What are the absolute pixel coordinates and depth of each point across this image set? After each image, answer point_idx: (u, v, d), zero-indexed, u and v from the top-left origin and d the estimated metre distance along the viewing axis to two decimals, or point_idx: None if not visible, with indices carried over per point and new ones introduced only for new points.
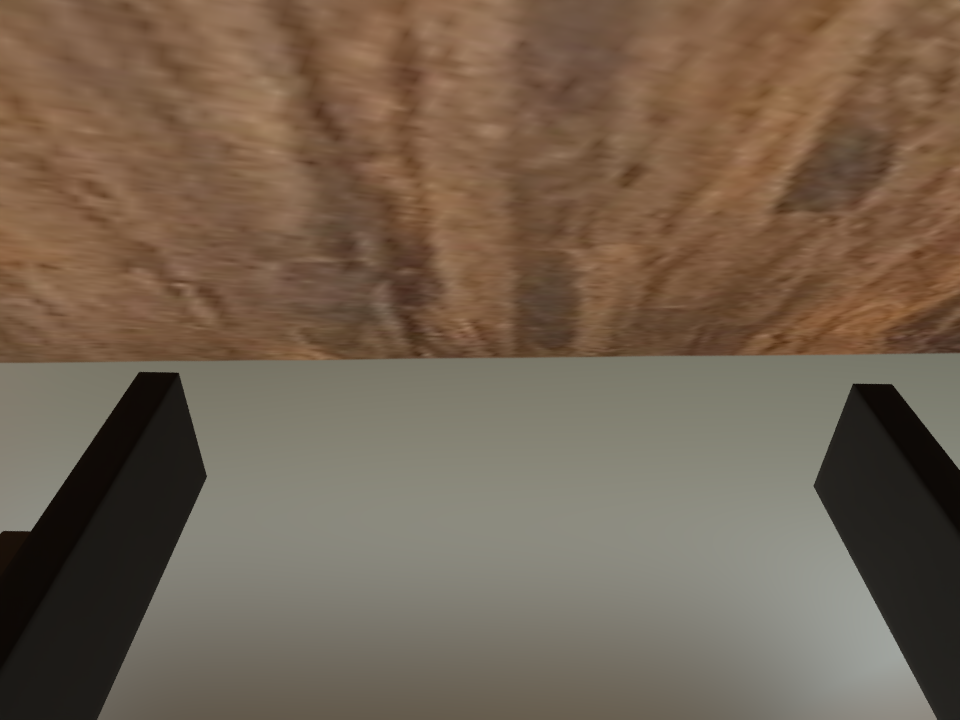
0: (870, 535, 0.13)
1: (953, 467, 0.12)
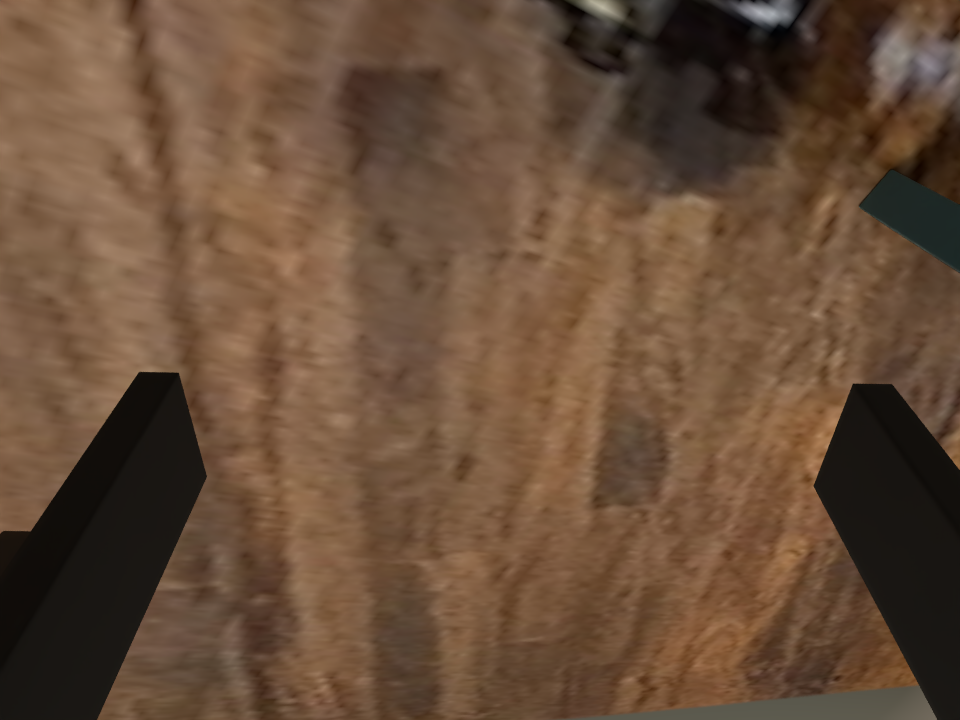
0: (870, 535, 0.13)
1: (954, 467, 0.12)
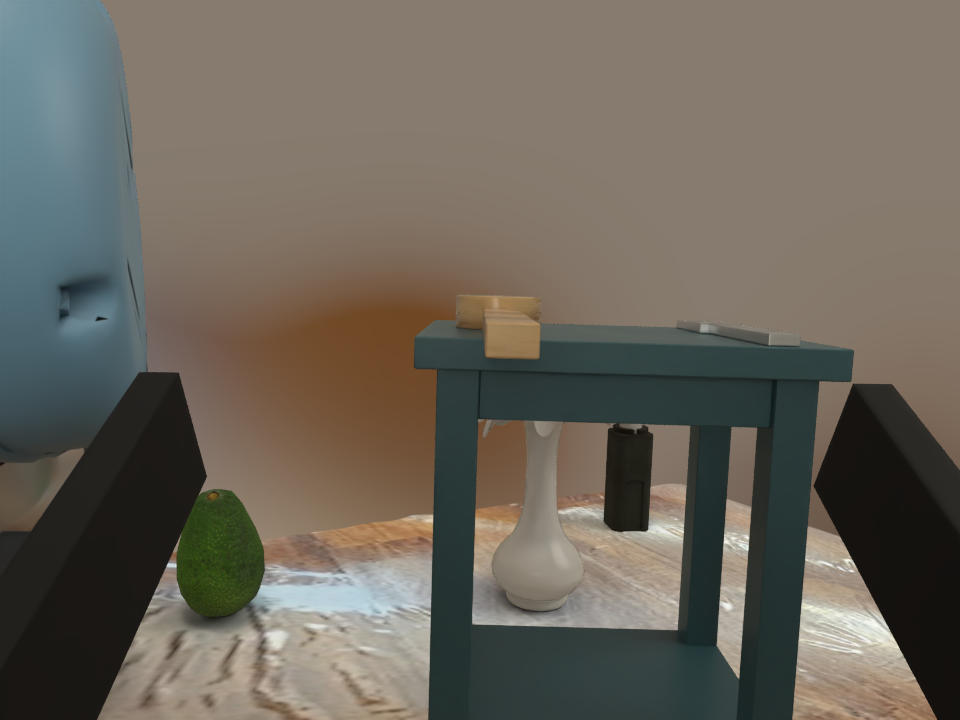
0: (870, 535, 0.13)
1: (954, 467, 0.12)
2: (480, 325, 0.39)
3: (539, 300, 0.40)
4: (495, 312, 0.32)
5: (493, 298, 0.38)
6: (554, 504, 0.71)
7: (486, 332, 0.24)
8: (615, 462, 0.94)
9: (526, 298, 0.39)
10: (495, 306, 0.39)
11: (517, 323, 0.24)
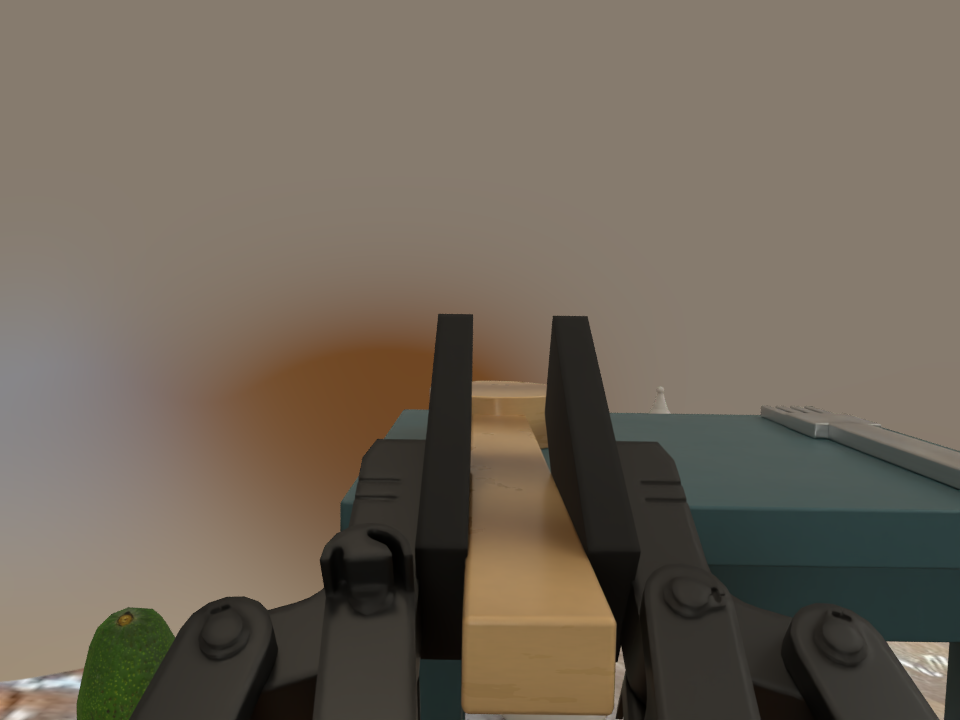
0: (554, 445, 0.15)
1: (601, 379, 0.14)
2: None
3: None
4: (491, 458, 0.17)
5: (488, 399, 0.23)
6: None
7: (464, 644, 0.08)
8: None
9: (542, 397, 0.24)
10: (492, 412, 0.23)
11: (551, 617, 0.08)
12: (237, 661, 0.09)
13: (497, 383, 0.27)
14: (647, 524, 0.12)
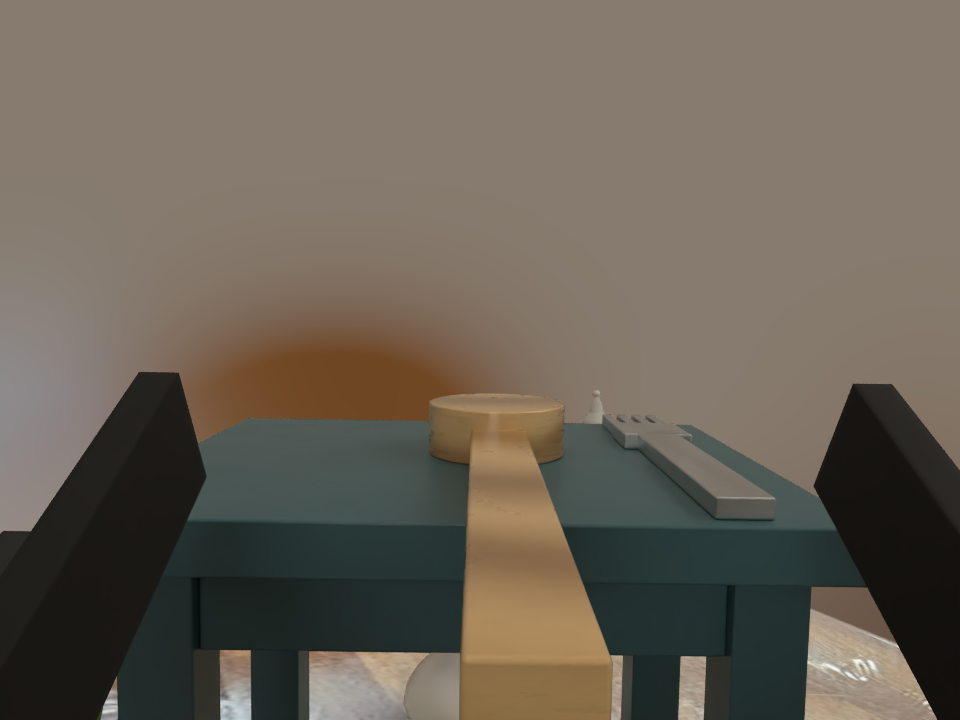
0: (870, 535, 0.13)
1: (953, 467, 0.12)
2: (467, 458, 0.24)
3: (562, 410, 0.25)
4: (490, 479, 0.17)
5: (487, 414, 0.23)
6: None
7: (462, 682, 0.08)
8: None
9: (542, 411, 0.24)
10: (491, 427, 0.23)
11: (548, 656, 0.08)
12: None
13: (497, 396, 0.27)
14: None
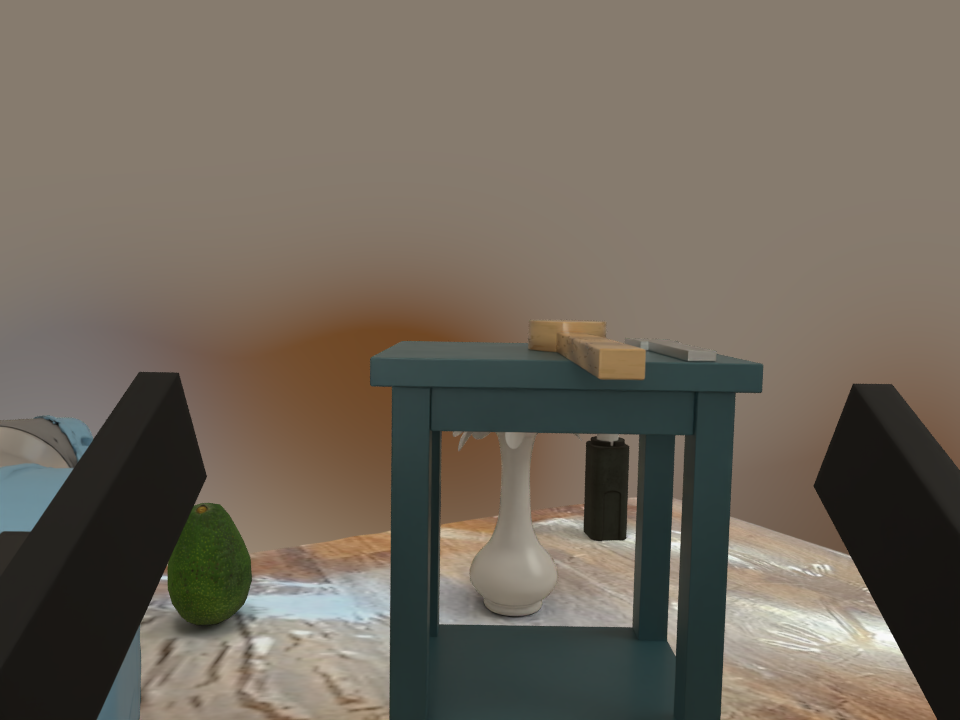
0: (870, 535, 0.13)
1: (953, 467, 0.12)
2: (554, 348, 0.43)
3: (605, 324, 0.44)
4: (581, 337, 0.36)
5: (566, 323, 0.42)
6: (528, 513, 0.74)
7: (599, 357, 0.28)
8: (593, 474, 0.97)
9: (595, 323, 0.43)
10: (568, 330, 0.42)
11: (626, 349, 0.28)
12: None
13: (565, 320, 0.46)
14: None
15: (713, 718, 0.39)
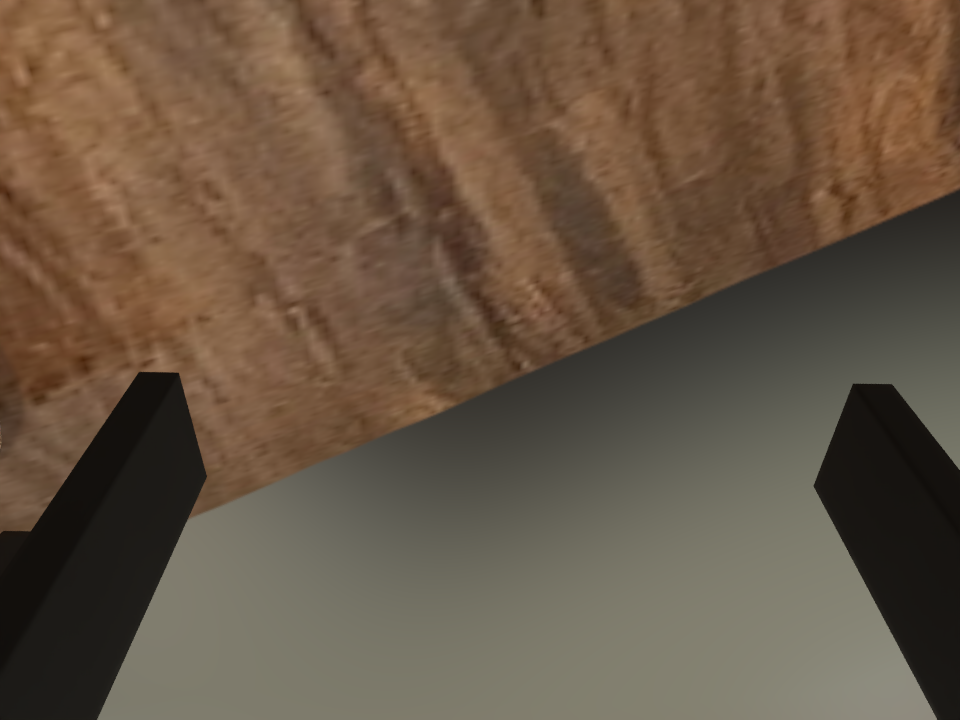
0: (870, 535, 0.13)
1: (954, 467, 0.12)
2: None
3: None
4: None
5: None
6: None
7: None
8: None
9: None
10: None
11: None
12: None
13: None
14: None
15: None
